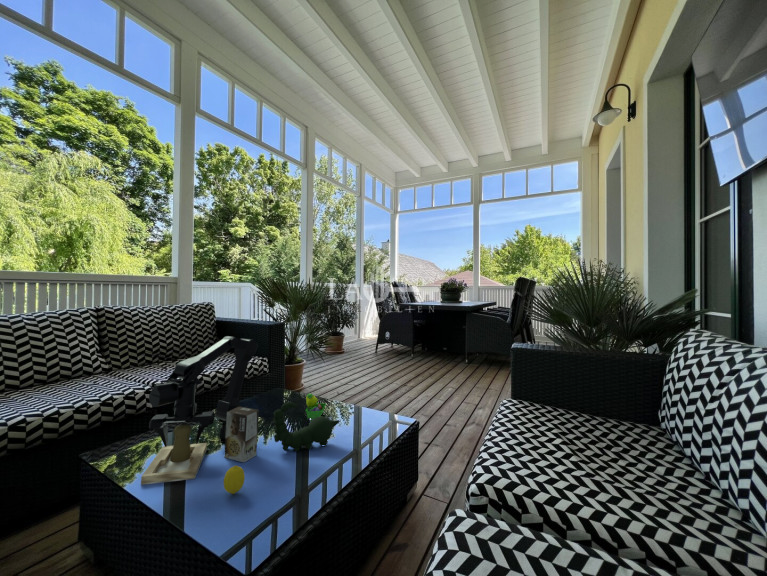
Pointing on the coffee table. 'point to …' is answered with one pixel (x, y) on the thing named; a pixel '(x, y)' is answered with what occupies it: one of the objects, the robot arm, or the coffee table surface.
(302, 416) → the coffee table surface
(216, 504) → the coffee table surface
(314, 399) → the fruit basket
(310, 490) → the coffee table surface
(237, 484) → the lemon
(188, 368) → the robot arm
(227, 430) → the coffee box
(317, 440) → the toy figurine
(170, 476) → the keyhole plate
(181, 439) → the cork
